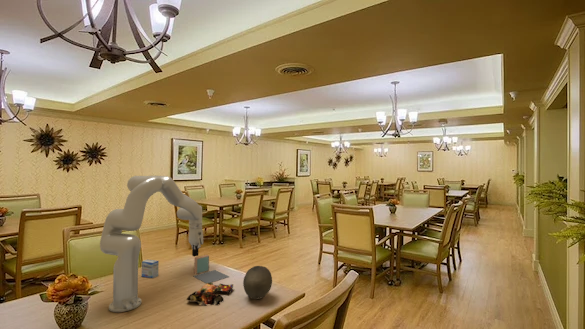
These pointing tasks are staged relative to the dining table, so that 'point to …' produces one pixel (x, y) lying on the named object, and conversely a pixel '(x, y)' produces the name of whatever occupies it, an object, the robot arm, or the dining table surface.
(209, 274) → the mat
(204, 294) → the food
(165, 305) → the dining table surface
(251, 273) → the dark round vase
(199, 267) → the tile
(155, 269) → the medicine box
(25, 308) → the dining table surface
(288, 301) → the dining table surface
